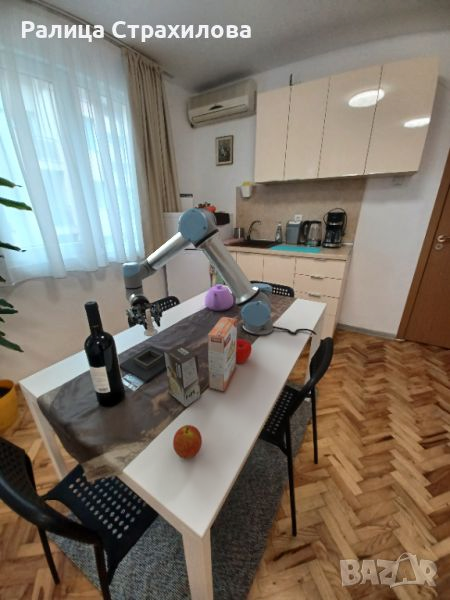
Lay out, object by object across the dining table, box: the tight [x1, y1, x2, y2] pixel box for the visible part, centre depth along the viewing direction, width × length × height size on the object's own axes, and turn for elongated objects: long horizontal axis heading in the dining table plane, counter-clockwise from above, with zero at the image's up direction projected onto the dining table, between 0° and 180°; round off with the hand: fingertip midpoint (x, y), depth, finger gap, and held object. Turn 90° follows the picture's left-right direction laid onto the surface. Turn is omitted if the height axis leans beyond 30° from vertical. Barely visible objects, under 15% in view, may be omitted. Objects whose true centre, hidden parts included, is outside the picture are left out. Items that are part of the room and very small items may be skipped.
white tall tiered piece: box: [143, 308, 159, 337], centre depth 90 cm, size 5×5×10 cm
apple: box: [236, 338, 253, 364], centre depth 94 cm, size 9×9×8 cm
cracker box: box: [207, 316, 238, 392], centre depth 82 cm, size 14×6×21 cm, turn 161°
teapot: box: [204, 283, 234, 312], centre depth 143 cm, size 25×18×14 cm
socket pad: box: [118, 345, 167, 383], centre depth 93 cm, size 16×16×3 cm
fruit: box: [172, 424, 203, 459], centre depth 58 cm, size 7×7×8 cm
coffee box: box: [164, 343, 201, 408], centre depth 75 cm, size 9×6×16 cm
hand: (152, 324), depth 85 cm, fingers closed on white tall tiered piece, 4 cm apart
